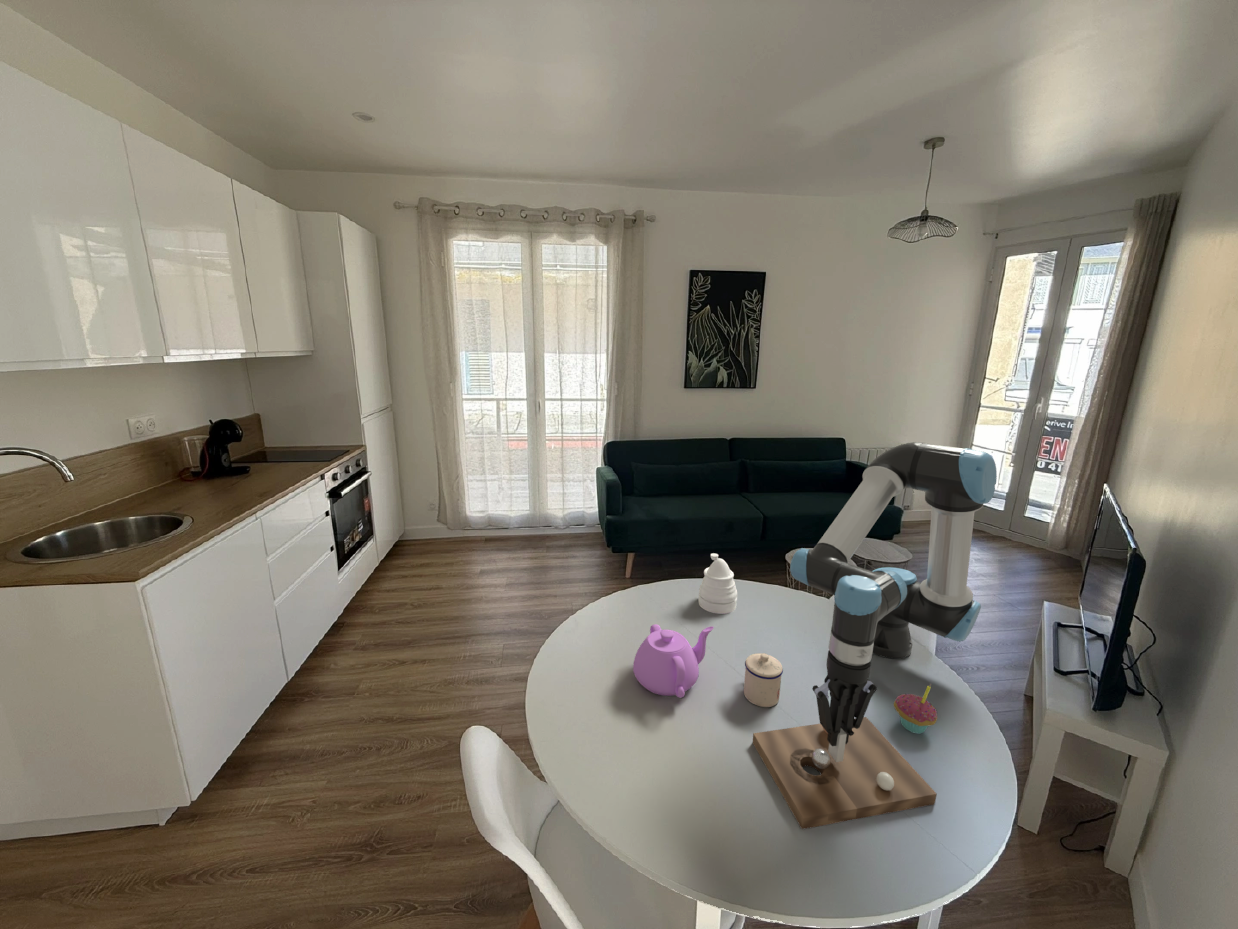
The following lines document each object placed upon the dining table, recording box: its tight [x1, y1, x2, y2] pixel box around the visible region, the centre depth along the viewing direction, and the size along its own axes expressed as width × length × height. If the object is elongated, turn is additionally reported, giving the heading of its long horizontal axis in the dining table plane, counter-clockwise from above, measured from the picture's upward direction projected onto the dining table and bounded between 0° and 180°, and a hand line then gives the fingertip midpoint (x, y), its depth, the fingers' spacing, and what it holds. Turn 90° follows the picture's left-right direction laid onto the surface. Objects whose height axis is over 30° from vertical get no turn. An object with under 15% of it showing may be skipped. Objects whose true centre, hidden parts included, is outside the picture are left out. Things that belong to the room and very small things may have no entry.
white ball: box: [876, 772, 894, 791], centre depth 92 cm, size 3×3×3 cm
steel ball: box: [812, 749, 830, 769], centre depth 97 cm, size 4×4×4 cm
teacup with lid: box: [743, 653, 784, 708], centre depth 121 cm, size 12×9×12 cm
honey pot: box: [697, 552, 738, 615], centre depth 162 cm, size 13×13×18 cm
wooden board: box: [752, 716, 937, 830], centre depth 99 cm, size 28×20×2 cm
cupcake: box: [893, 683, 938, 734], centre depth 110 cm, size 9×8×12 cm
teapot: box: [632, 623, 715, 698], centre depth 125 cm, size 22×22×14 cm
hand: (835, 756), depth 98 cm, fingers closed
